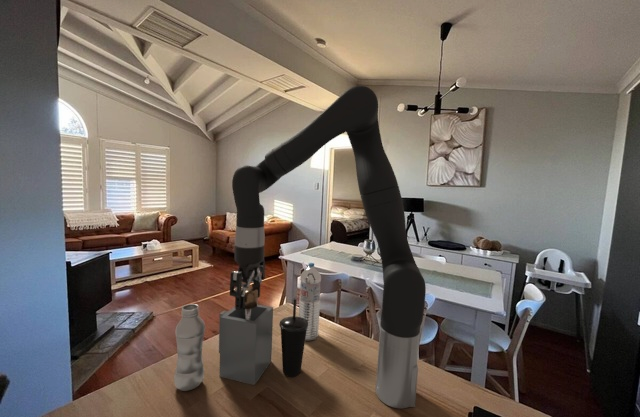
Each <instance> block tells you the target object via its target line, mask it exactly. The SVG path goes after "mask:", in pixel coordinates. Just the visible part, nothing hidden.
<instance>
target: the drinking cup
mask: <svg viewBox="0 0 640 417" xmlns="http://www.w3.org/2000/svg"><path fill="white" fill-rule="evenodd" d="M292 309H293V310H292V316H287V317H284V318H282V319H281V320H280V321H279V327H280V340H281V341H280V342H281V356H282V357H281V359H282V360H281V361H282V373H283V375H284V376H286V377H289V378H294V377H297V376H299V375H300V374H301V371H302V366H303V365H302V364H303V357H304V350H305V345H306V344H305V342H306V341H305V337H306V330H307V327H308V321H307V320H306V319H304V318H302V317H299V316H298V315H297V314H296V313H297V312H296V310H297V299H293V308H292ZM296 315H297V316H296Z"/></svg>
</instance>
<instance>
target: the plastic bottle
mask: <svg viewBox="0 0 640 417" xmlns="http://www.w3.org/2000/svg"><path fill="white" fill-rule="evenodd" d="M180 313H181V317H182V318H181V319H180V320H179V321H178V323H177V324H176V327H175V331H174V334H175V335H174V336H175V340H176V349H177V351H176V352H177V360H176V367H175V372H174V378H173V381H174V385H175V387H176V389H178V390H179V391H181V392H182V391H183V392H187V391H192V390H194V389H196V388H198V387H199V386H200V385H201V383H202V382H203V380H204V376H205V368H204V364H203V342H204V336H205V331H206V330H205V329H206V324H205V321H204V320H203V319H202V318H201V317H200V306H199V305H198V304H196V303H190V304H186V305H183V306H181V312H180Z"/></svg>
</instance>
